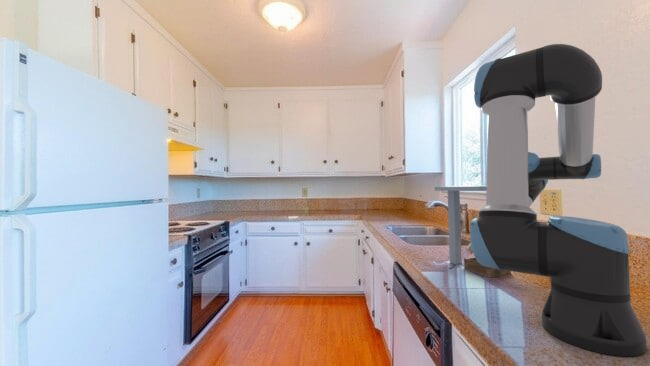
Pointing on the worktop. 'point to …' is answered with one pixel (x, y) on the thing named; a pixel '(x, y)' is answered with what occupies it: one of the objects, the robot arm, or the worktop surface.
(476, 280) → the worktop surface
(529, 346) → the worktop surface
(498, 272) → the socket block
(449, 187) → the grey t-shaped post
